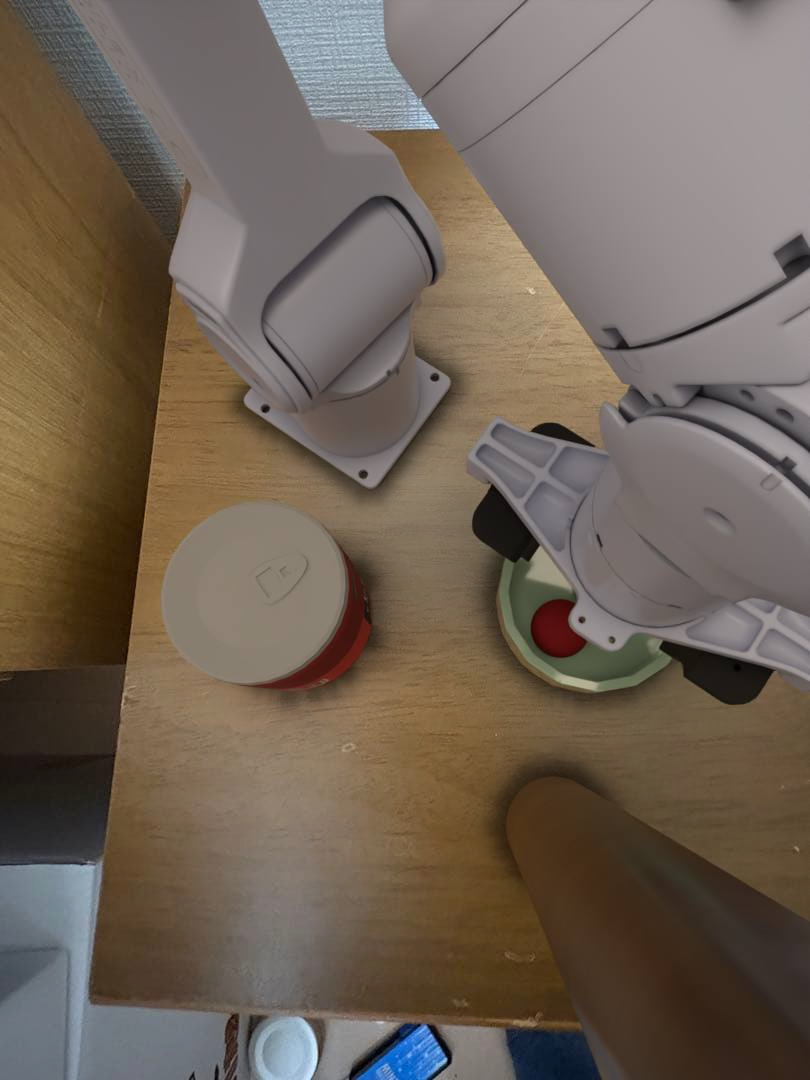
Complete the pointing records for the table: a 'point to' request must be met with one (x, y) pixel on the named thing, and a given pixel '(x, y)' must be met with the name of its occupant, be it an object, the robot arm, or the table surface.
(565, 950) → the pepper mill
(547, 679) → the bowl
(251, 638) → the canned food
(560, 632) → the bead
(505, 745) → the table surface
